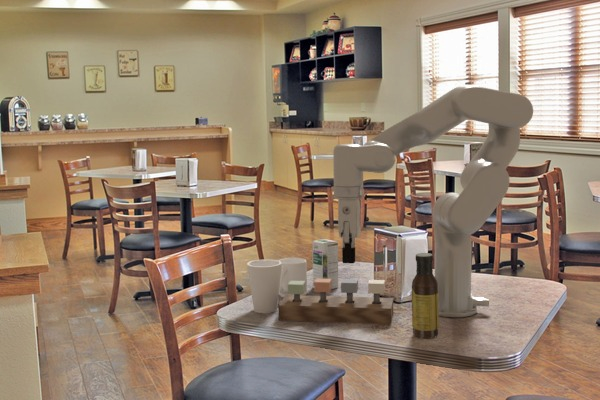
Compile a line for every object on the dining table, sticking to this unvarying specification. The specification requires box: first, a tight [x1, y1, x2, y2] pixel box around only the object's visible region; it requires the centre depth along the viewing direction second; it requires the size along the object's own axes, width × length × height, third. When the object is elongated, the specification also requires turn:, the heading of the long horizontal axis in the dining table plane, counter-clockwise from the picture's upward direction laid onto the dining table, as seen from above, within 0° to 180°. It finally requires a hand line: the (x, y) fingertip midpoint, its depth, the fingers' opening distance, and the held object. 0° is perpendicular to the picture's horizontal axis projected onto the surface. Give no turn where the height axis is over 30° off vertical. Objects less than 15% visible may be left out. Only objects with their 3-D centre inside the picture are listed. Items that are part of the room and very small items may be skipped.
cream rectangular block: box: [367, 279, 386, 304], centre depth 193 cm, size 4×4×7 cm
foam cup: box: [246, 258, 282, 314], centre depth 203 cm, size 10×9×13 cm
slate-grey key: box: [340, 278, 359, 303], centre depth 195 cm, size 4×4×7 cm
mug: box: [278, 257, 308, 299], centre depth 216 cm, size 12×8×10 cm
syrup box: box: [312, 238, 339, 290], centre depth 225 cm, size 6×6×14 cm
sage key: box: [288, 281, 306, 302], centre depth 197 cm, size 4×4×7 cm
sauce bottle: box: [411, 252, 440, 340], centre depth 178 cm, size 6×6×20 cm
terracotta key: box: [313, 278, 333, 303], centre depth 196 cm, size 4×4×7 cm
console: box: [277, 295, 394, 325], centre depth 196 cm, size 29×10×4 cm, turn 80°
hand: (348, 262), depth 193 cm, fingers closed
